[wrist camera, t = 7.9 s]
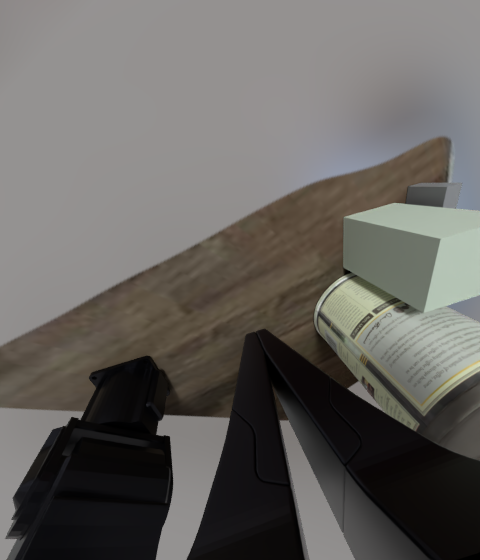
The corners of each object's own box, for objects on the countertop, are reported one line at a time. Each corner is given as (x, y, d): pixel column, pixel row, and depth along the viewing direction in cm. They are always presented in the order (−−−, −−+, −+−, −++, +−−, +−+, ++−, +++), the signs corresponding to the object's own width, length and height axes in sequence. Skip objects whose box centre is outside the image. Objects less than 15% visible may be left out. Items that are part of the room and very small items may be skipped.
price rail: (386, 338, 29) (409, 357, 26) (408, 186, 20) (447, 186, 17) (398, 334, 29) (422, 352, 26) (424, 182, 20) (465, 181, 17)
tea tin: (343, 267, 23) (423, 313, 15) (343, 217, 20) (440, 238, 12) (389, 253, 23) (493, 290, 15) (395, 202, 20) (523, 214, 12)
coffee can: (404, 294, 26) (597, 398, 13) (346, 350, 29) (463, 482, 16) (358, 251, 22) (572, 340, 10) (296, 321, 25) (399, 464, 12)
